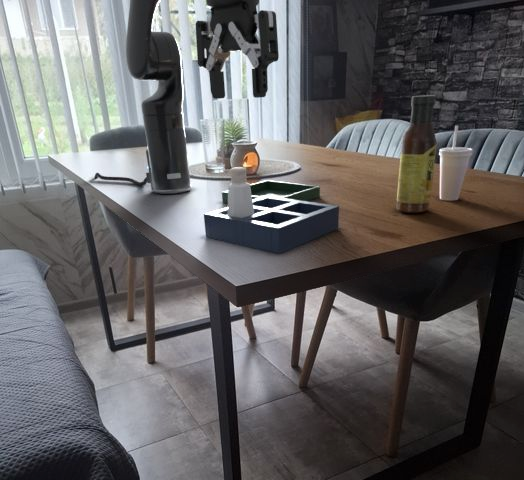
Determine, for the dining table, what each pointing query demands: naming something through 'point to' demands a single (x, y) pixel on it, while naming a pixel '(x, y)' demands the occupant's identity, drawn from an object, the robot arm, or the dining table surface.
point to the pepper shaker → (239, 194)
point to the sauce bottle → (417, 158)
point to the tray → (281, 191)
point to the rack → (274, 224)
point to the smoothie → (453, 169)
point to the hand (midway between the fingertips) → (238, 97)
